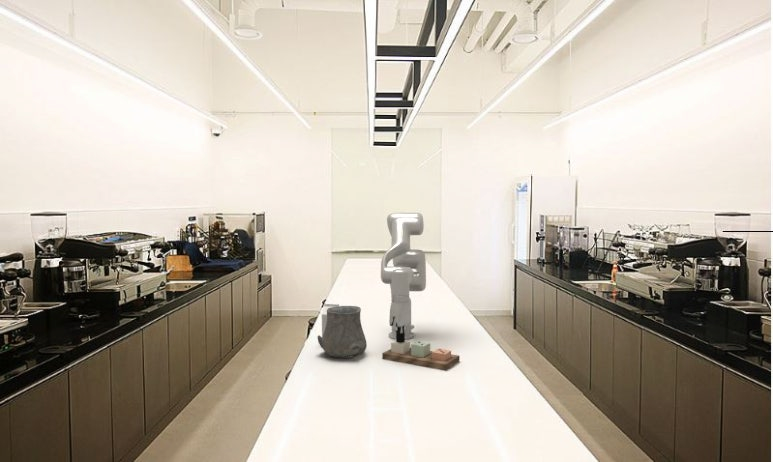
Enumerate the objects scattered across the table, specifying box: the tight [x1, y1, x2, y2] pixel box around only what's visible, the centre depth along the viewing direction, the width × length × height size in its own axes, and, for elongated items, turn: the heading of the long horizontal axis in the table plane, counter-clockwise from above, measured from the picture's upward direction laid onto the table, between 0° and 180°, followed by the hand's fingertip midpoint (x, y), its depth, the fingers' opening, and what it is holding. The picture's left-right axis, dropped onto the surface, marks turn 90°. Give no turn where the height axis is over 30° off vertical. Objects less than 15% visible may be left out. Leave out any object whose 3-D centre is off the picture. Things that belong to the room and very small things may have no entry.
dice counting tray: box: [381, 347, 461, 372], centre depth 208 cm, size 29×13×2 cm, turn 59°
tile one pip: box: [390, 340, 411, 354], centre depth 213 cm, size 6×6×5 cm
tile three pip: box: [432, 348, 452, 362], centre depth 203 cm, size 6×6×5 cm
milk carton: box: [321, 303, 340, 337], centre depth 230 cm, size 7×7×19 cm
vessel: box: [317, 305, 368, 359], centre depth 215 cm, size 22×22×20 cm
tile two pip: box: [410, 340, 431, 358], centre depth 208 cm, size 6×6×5 cm
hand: (400, 341), depth 212 cm, fingers closed
